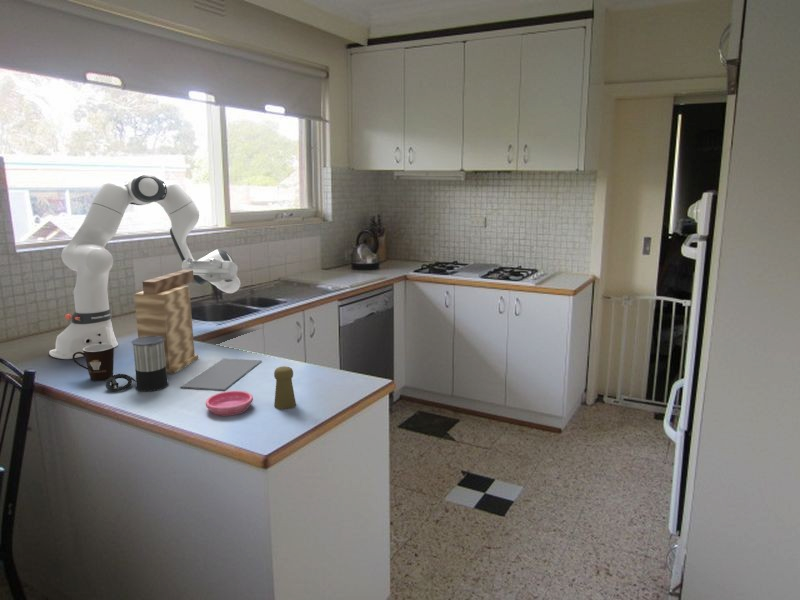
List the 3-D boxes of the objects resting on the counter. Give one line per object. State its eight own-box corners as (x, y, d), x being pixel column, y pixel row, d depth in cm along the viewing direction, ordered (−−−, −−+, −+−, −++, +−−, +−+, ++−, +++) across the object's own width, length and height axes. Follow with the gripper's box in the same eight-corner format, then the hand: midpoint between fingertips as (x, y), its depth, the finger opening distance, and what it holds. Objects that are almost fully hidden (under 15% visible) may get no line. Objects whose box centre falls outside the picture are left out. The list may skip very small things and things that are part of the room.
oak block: (174, 373, 184) (167, 295, 179) (137, 371, 186) (129, 293, 181) (198, 358, 200) (193, 285, 194) (164, 356, 202) (158, 284, 196)
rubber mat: (224, 390, 169) (224, 389, 169) (180, 388, 171) (180, 386, 171) (261, 361, 196) (261, 360, 196) (223, 359, 198) (223, 358, 198)
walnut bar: (155, 294, 180) (154, 281, 179) (143, 293, 181) (142, 281, 180) (193, 281, 203) (192, 270, 202) (183, 281, 204) (182, 269, 203)
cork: (275, 401, 161) (273, 364, 159) (297, 400, 162) (295, 363, 159) (272, 409, 155) (270, 371, 153) (295, 409, 156) (293, 370, 154)
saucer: (199, 418, 150) (199, 407, 150) (214, 400, 162) (213, 390, 162) (246, 418, 150) (246, 407, 150) (258, 400, 162) (257, 390, 162)
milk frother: (174, 386, 173) (170, 339, 170) (120, 400, 162) (115, 350, 159) (153, 375, 182) (149, 331, 179) (101, 388, 171) (96, 341, 168)
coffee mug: (123, 375, 183) (120, 345, 181) (101, 383, 175) (98, 352, 173) (95, 371, 187) (92, 341, 185) (72, 379, 179) (69, 349, 177)
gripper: (193, 265, 226) (175, 251, 213) (241, 265, 223) (226, 252, 210) (190, 280, 224) (172, 267, 211) (239, 281, 221) (223, 268, 208)
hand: (199, 260), depth 211 cm, fingers open, 8 cm apart
